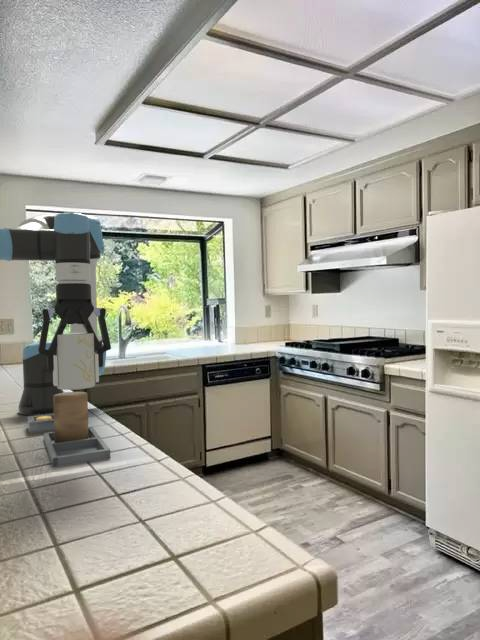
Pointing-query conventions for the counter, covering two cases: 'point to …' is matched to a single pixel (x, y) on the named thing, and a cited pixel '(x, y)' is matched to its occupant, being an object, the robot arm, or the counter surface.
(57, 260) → the robot arm
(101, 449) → the grey divided tray
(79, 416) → the ball
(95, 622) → the counter surface
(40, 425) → the grey square holder
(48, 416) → the button
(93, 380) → the white stubby cylinder
